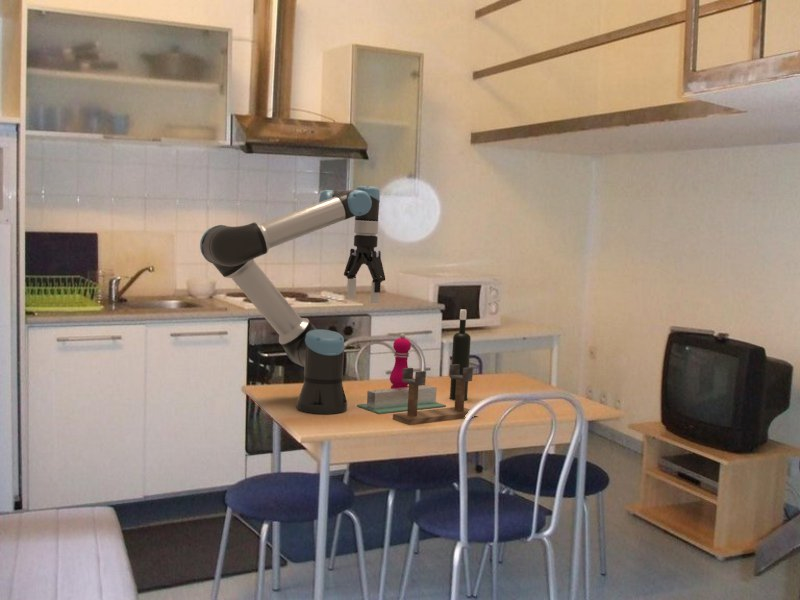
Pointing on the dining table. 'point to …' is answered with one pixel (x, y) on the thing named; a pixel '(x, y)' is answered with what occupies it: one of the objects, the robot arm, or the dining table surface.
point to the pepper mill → (400, 361)
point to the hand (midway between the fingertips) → (362, 300)
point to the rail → (399, 397)
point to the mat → (401, 408)
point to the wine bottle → (460, 353)
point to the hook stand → (436, 414)
